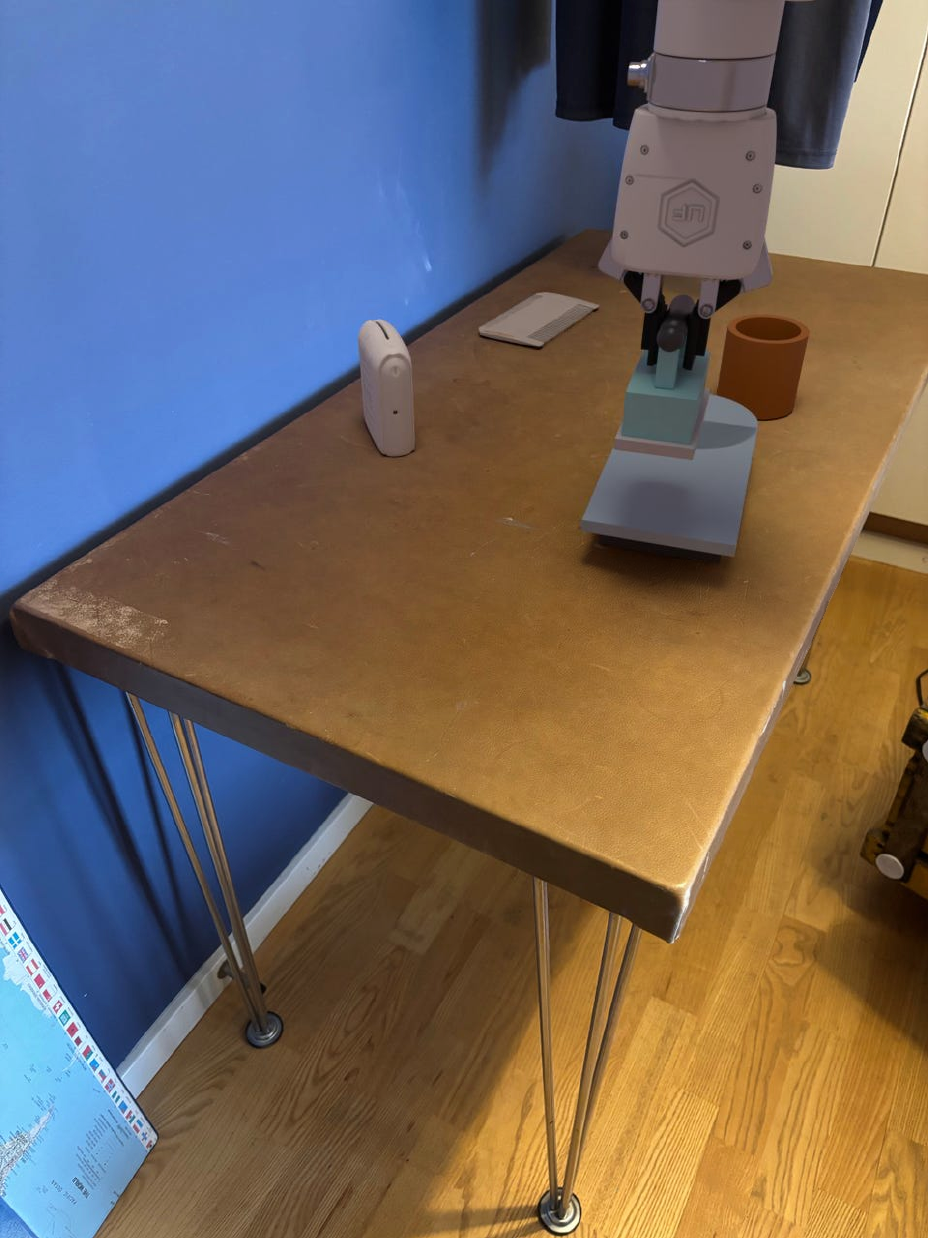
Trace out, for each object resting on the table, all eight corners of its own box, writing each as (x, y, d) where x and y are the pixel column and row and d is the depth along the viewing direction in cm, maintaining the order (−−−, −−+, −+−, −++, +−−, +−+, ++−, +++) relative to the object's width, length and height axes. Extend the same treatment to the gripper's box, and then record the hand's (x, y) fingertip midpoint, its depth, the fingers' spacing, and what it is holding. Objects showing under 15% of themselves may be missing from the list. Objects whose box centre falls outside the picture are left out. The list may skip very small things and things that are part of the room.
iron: (692, 460, 68) (712, 341, 62) (613, 449, 70) (625, 331, 64) (709, 396, 77) (727, 286, 71) (638, 387, 78) (650, 279, 72)
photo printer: (420, 454, 98) (415, 342, 90) (381, 460, 97) (372, 347, 89) (397, 413, 105) (390, 307, 98) (360, 418, 104) (351, 311, 97)
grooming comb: (538, 349, 119) (538, 343, 118) (472, 334, 123) (472, 328, 123) (600, 307, 131) (601, 301, 131) (539, 294, 135) (539, 289, 135)
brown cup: (810, 387, 110) (828, 313, 104) (780, 427, 102) (798, 349, 96) (737, 372, 113) (751, 299, 108) (703, 409, 105) (716, 333, 100)
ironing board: (754, 443, 99) (763, 400, 96) (726, 593, 78) (736, 545, 75) (635, 426, 102) (640, 384, 99) (577, 566, 81) (581, 519, 78)
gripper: (574, 90, 57) (558, 368, 69) (840, 101, 53) (776, 394, 65) (597, 72, 63) (579, 332, 74) (840, 80, 59) (781, 354, 71)
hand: (671, 359), depth 70 cm, fingers closed on iron
